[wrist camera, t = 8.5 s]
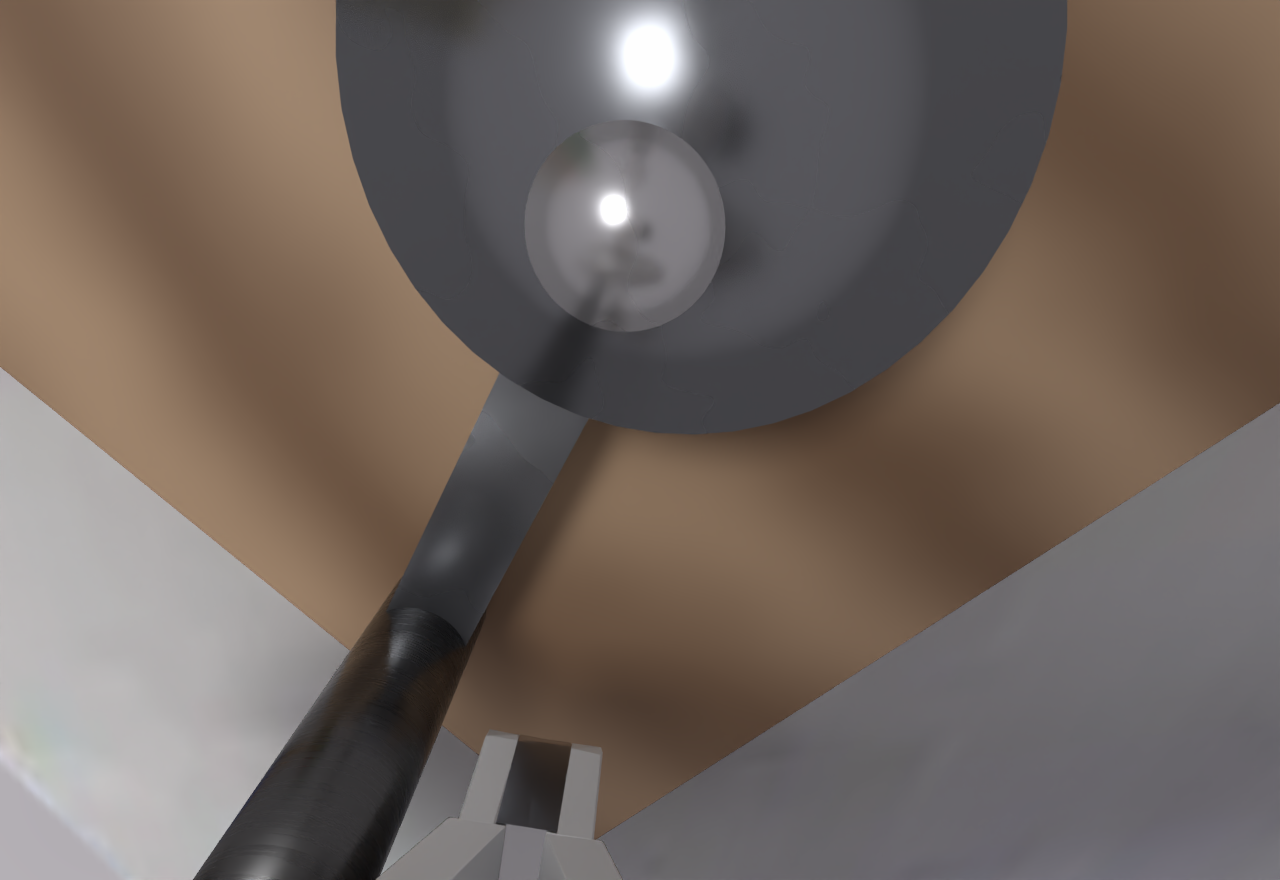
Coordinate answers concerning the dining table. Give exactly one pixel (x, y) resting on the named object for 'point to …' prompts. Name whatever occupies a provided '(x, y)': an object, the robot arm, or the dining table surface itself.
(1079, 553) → the dining table surface
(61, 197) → the brown flat piece
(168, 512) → the dining table surface
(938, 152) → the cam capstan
